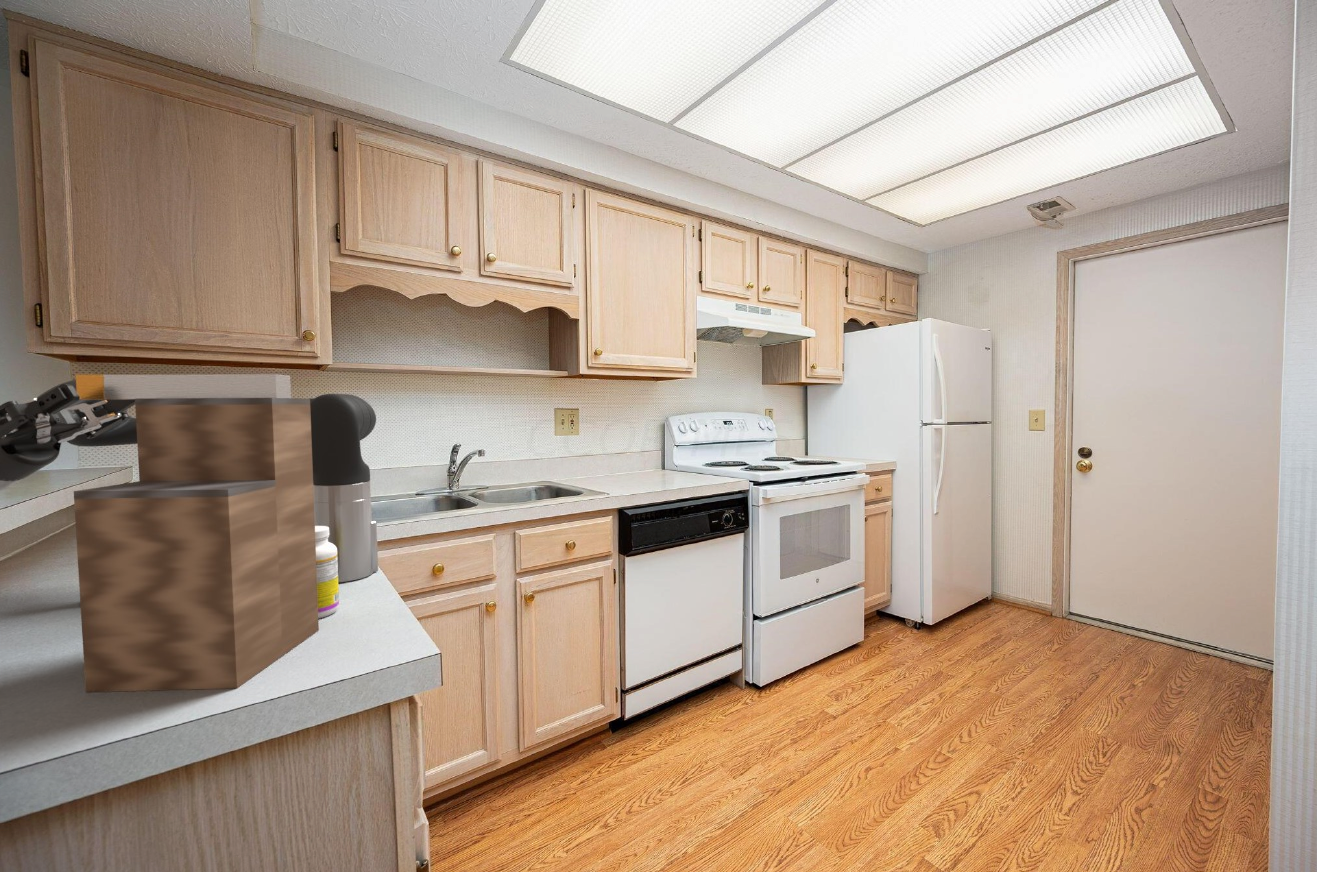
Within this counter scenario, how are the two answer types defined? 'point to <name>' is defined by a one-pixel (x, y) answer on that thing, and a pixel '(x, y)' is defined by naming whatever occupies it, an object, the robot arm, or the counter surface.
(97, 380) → the bar
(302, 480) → the stand
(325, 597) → the supplement bottle
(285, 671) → the counter surface
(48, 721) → the counter surface
